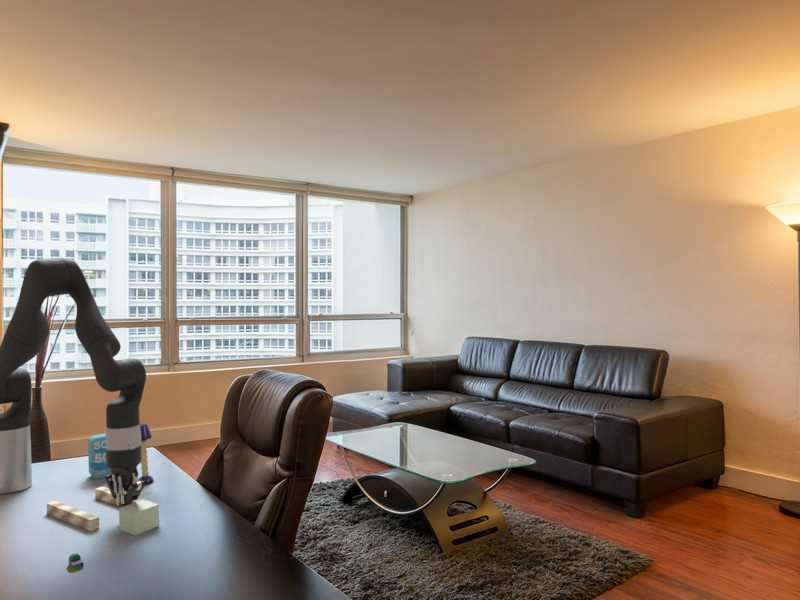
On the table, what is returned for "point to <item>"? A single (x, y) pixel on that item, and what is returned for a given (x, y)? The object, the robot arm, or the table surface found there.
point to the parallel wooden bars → (80, 516)
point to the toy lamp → (145, 454)
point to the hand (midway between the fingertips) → (125, 517)
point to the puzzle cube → (74, 562)
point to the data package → (97, 456)
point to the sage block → (139, 517)
